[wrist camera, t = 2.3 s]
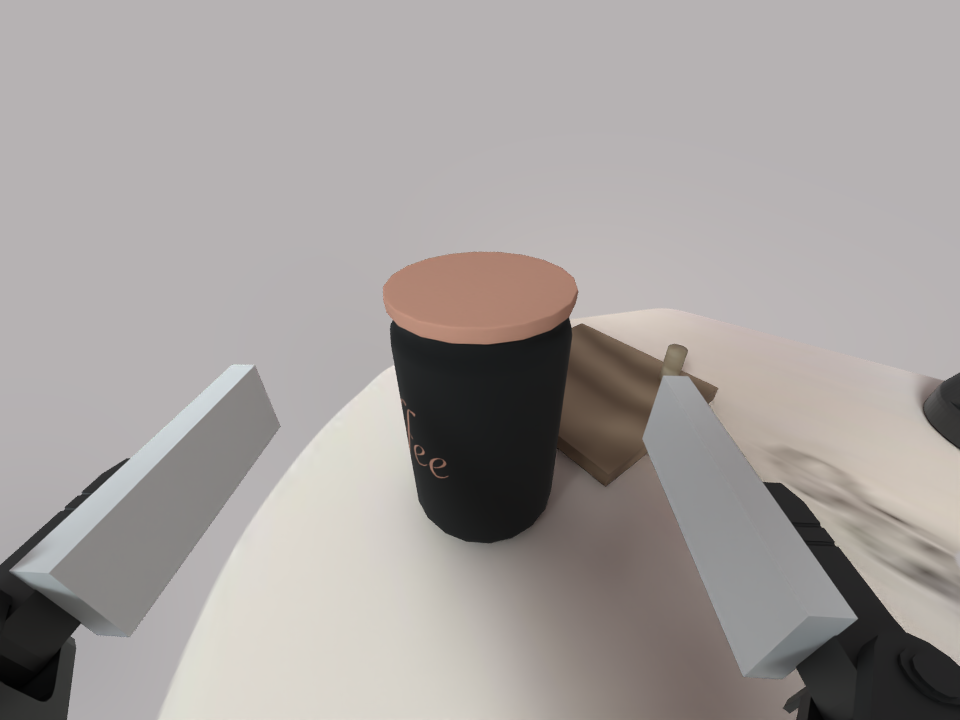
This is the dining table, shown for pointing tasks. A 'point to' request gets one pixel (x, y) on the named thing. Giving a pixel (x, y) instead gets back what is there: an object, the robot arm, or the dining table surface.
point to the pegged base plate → (612, 401)
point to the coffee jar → (482, 385)
